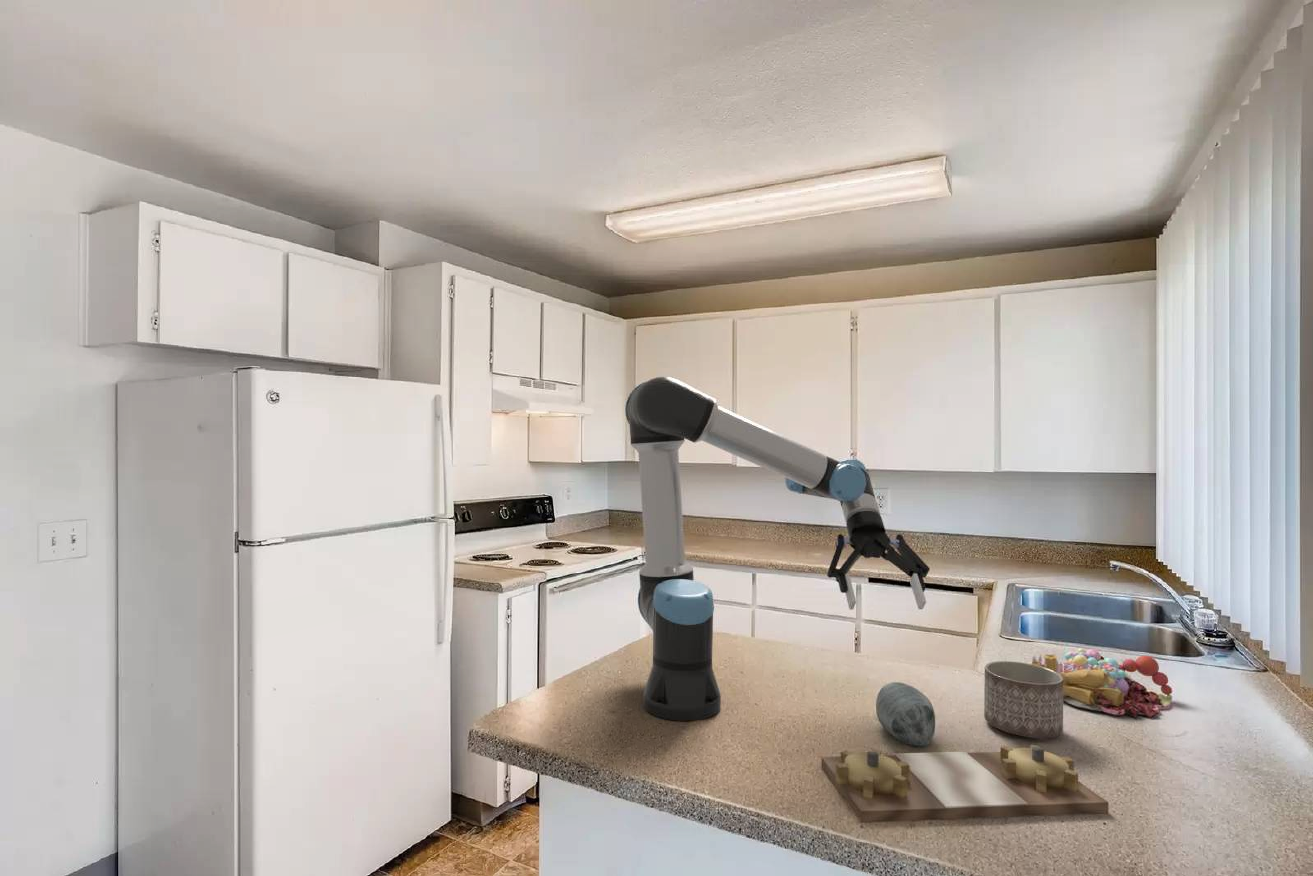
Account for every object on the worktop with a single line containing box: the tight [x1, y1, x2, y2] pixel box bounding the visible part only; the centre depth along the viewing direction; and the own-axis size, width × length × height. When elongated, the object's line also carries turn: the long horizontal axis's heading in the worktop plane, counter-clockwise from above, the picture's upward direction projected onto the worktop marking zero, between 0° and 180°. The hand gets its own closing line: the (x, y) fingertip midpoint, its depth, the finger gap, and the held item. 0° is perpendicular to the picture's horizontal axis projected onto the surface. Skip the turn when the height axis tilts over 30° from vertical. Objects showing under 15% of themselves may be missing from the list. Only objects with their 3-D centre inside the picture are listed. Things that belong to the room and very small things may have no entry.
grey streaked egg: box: [875, 681, 936, 748], centre depth 120 cm, size 14×10×10 cm
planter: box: [983, 660, 1064, 739], centre depth 124 cm, size 13×13×10 cm
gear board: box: [820, 744, 1109, 823], centre depth 101 cm, size 37×16×6 cm, turn 95°
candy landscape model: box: [1031, 647, 1173, 719], centre depth 142 cm, size 25×24×9 cm
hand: (887, 606), depth 131 cm, fingers open, 13 cm apart
